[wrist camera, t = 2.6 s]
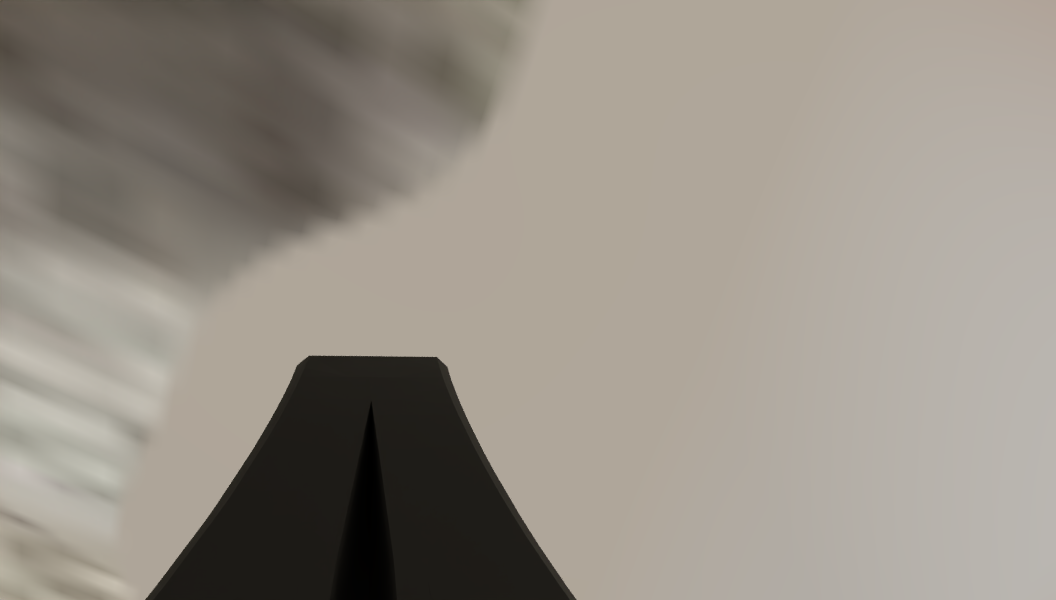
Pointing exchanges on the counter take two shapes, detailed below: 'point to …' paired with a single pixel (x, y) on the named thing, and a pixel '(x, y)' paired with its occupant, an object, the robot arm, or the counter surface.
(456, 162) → the counter surface
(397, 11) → the counter surface
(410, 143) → the counter surface
